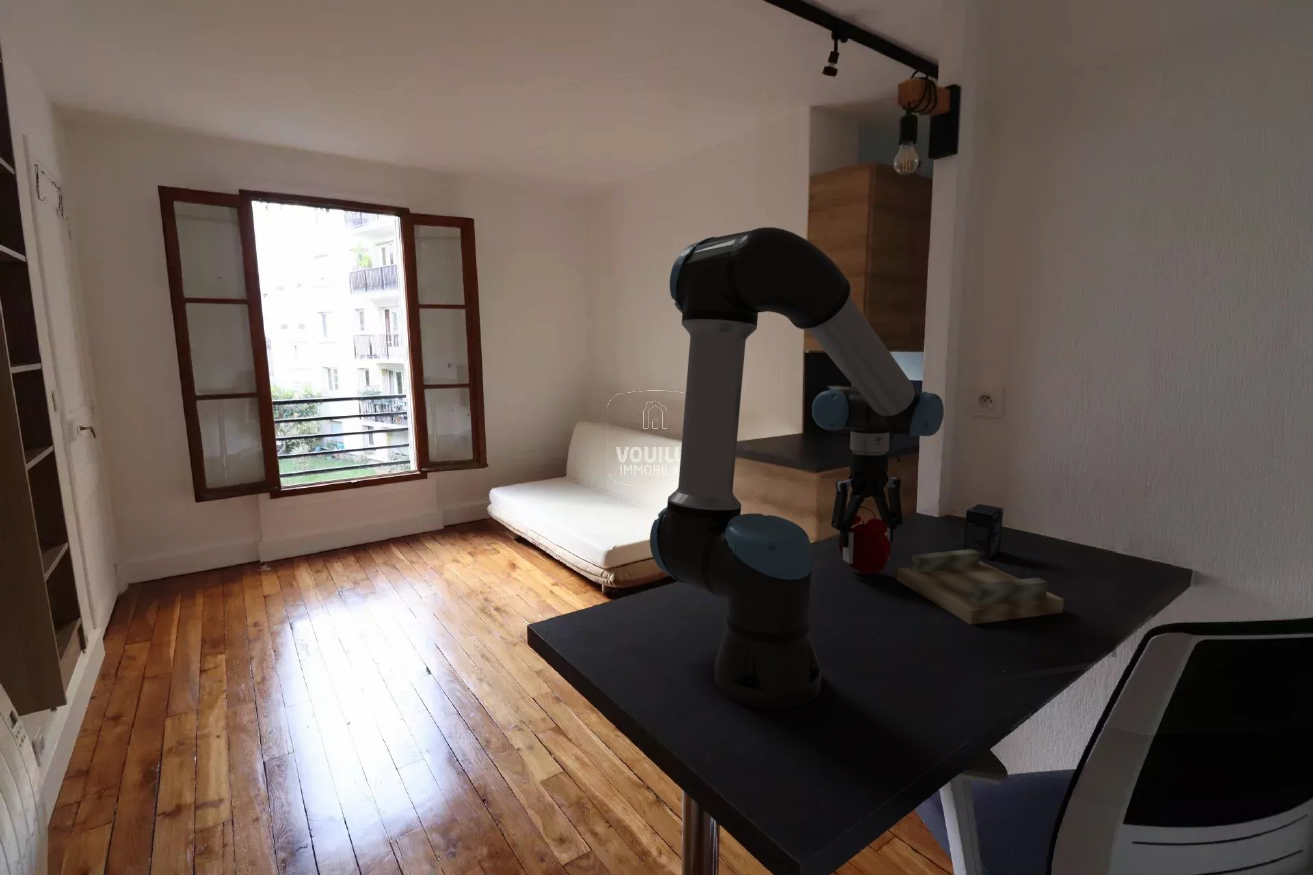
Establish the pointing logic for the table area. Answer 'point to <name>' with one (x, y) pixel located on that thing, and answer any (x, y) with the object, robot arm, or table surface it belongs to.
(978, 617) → the display stand
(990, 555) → the box
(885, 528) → the alarm clock
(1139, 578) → the table surface
